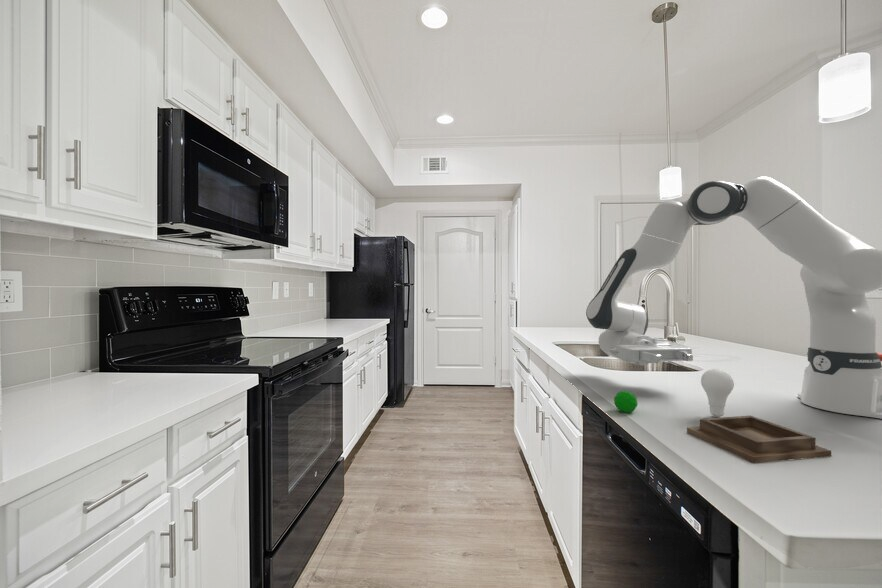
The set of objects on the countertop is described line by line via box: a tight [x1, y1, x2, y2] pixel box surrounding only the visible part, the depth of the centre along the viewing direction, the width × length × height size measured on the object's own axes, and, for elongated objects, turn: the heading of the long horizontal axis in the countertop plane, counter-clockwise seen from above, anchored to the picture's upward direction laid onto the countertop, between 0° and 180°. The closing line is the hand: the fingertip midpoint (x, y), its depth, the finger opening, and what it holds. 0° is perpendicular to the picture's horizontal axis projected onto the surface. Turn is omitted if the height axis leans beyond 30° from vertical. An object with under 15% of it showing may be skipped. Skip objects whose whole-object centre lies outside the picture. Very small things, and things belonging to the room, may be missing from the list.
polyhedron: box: [613, 390, 638, 414], centre depth 91 cm, size 5×5×5 cm
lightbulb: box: [700, 368, 735, 418], centre depth 87 cm, size 6×6×11 cm
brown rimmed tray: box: [686, 415, 832, 464], centre depth 73 cm, size 16×14×3 cm
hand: (674, 358), depth 99 cm, fingers open, 8 cm apart
